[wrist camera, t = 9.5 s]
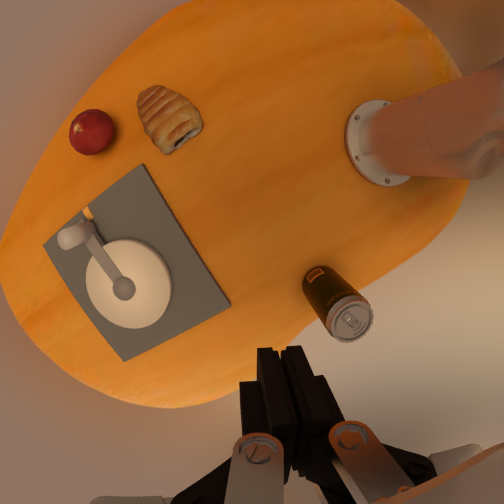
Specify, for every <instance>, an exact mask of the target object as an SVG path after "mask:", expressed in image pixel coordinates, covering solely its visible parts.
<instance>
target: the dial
mask: <svg viewBox="0 0 504 504" xmlns="http://www.w3.org/2000/svg"><path fill="white" fill-rule="evenodd" d="M57 241H58V244H59V246H60V247H61V248H62V249H63V250H69V249H71V248H73V247H75V246H77V245H79V244H81V243H83V242H84V243H85V245H86V246H87V248H88V249H89V250H90V252H91V253H92V255H93V256H92V258H91V259H90V261H89V263H88V266H87V270H86V287H87V291H88V294H89V297H90V299H91V301H92V303H93V305H94V306H95V308H96V309H97V310H98V311H99V312H100V314H101V315H103V316H104V317H105V318H106V319H107V320H109V321H110V322H112V323H114V324H116V325H118V326H121V327H125V328H133V329H136V328H143V327H146V326H149V325H151V324H153V323H154V322H156V321H157V320H158V319H159V318H160V317H161V316H162V315H163V313H164V312H165V309H166V307H167V305H168V303H169V301H170V298H171V294H172V279H171V274H170V271H169V268H168V266H167V264H166V262H165V261H164V259H163V258H162V257H161V256H160V254H159V253H158V252H157V251H156V250H155V249H153V248H152V247H151V246H149V245H148V244H146V243H144V242H141V241H139V240H135V239H128V238H125V239H117V240H114V241H112V242H110V243H108V244H106V245H105V244H104V242H103V241H102V240H101V238H100V237H99V235H98V234H97V232H96V229H95V226H94V224H93V223H92V222H90V221H89V220H88V219H87V217H85V218H82V219H81V220H80V221H79V222H78V223H77V224H76V225H74V226H71V227H68V228H65V229H62V230H61V231H60V232H59V233H58V236H57Z"/></svg>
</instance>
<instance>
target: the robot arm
mask: <svg viewBox="0 0 504 504" xmlns="http://www.w3.org/2000/svg"><path fill="white" fill-rule="evenodd" d="M355 118H356V120H355ZM345 142H346V148H347V152H348V155H349V157H350V159H351V162H352V163H353V165H354V166H355V168H356V169H357V171H358V172H359V173H360V174H361V175H362V176H363V177H365V178H366V179H367V180H368V181H370V182H372V183H374V184H377V185H381V186H388V187H390V186H397V185H400V184H403V183H404V182H406V181H408V180H409V179H410V178H411V177H412V176H420V177H440V178H455V179H471V180H472V179H481V178H484V177H486V176H488V175H490V174H491V173H492V172H494V171H495V170H496V169H497V167H498V166H499V165H500V163H501V162H502V161H503V159H504V58H502V59H500V60H498V61H497V62H495V63H493V64H491V65H489V66H488V67H485V68H483V69H481V70H479V71H477V72H475V73H473V74H471V75H468V76H465V77H463V78H460V79H457V80H454V81H452V82H449V83H446V84H443V85H440V86H437V87H434V88H431V89H429V90H426V91H423V92H420V93H418V94H415V95H412V96H410V97H407V98H404V99H402V100H399V101H397V102H394V103H391V102H389V101H385V100H371V101H367V102H365V103H363V104H361V105H360V106H358V107H357V108H356V109H355V110H354V111H353V112H352V114H351V115H350V117H349V119H348V121H347V125H346V129H345ZM355 156H356V157H357V159H355ZM385 180H386V181H385ZM239 385H240V409H241V423H242V437H241V438H239V440H238V441H237V442H236V443H235V445H234V448H233V453H232V457H231V458H229V459H228V460H226V461H225V462H224V463H222V464H221V465H220V466H218V467H217V468H216V469H215V470H213V471H212V472H210V473H209V474H207V475H206V476H204V477H203V478H202V479H200V480H199V481H197V482H196V483H194V484H193V485H191V486H190V487H188V488H187V489H185V490H184V491H182V492H180V493H179V494H178V495H176V496H175V497H167V498H163V497H162V496H144V497H118V496H116V497H115V496H101V497H97V498H95V499H93V500H92V501H91V503H90V504H284V502H283V501H284V485H285V484H286V483H287V482H288V477H289V473H290V468H291V466H292V469H293V471H295V470H298V473H299V477H304V476H305V477H306V479H307V480H309V481H311V482H313V486H314V489H315V491H316V493H317V495H318V497H319V499H320V501H321V503H322V504H504V443H501V444H498V445H495V446H493V447H491V448H489V449H486V450H484V449H483V448H482V447H481V446H479V445H477V444H468V445H465V446H461V447H458V448H454V449H450V450H447V451H443V452H438V453H434V454H430V456H429V457H425V456H422V455H419V454H416V453H412V452H408V451H405V450H402V449H398V448H395V447H392V446H389V445H385V444H383V443H381V442H380V441H379V439H378V438H377V437H376V436H375V434H374V433H373V432H372V430H371V429H370V428H369V427H368V426H367V425H365V424H363V423H361V422H358V421H345V419H344V417H343V415H342V413H341V411H340V408H339V406H338V404H337V402H336V400H335V398H334V396H333V393H332V391H331V389H330V387H329V385H328V383H327V381H326V379H325V377H324V376H323V375H319V376H314V374H313V372H312V369H311V367H310V365H309V362H308V360H307V358H306V356H305V353H304V351H303V349H302V347H301V346H299V345H298V346H287V347H286V350H282V351H281V358H280V357H279V354H278V351H273V349H272V347H269V348H257V381H246V382H239Z"/></svg>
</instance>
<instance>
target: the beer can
mask: <svg viewBox="0 0 504 504" xmlns="http://www.w3.org/2000/svg"><path fill="white" fill-rule="evenodd" d="M303 292H304V295H305V296H306V298H307V300H308V301H309V303H310V304H311V306H312V307H313V309H314V310H315V312H316V314H317V315H318V317H319V318H320V320H321V321H322V323H323V325H324V326H325V328H326V329H327V331H328V332H329V333H330V335H331V336H333V337H334V338H336V339H337V340H338V341H340V342H346V343H348V342H354V341H356V340H358V339H360V338H362V337H363V336H364V335H365V334H366V333H367V332H368V331H369V329H370V327H371V325H372V323H373V317H374V316H373V311H372V309H371V307H370V304H369V303H368V301H367V300H366V299H365V298H364V297H363V296H362V295H361V294H359V293H358V292H357V291H356V290H355V289H354V288H353V287H352V286H351V285H350V284H349V283H348V282H346V281H345V280H344V279H343V278H342V277H341V276H340V275H339V274H338V273H336V272H335V271H334V270H333V269H331V268H329V267H318V268H315V269H313V270H311V271H310V272H309V273H308V274H307V276H306V277H305V279H304V282H303Z"/></svg>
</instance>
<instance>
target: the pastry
mask: <svg viewBox="0 0 504 504" xmlns="http://www.w3.org/2000/svg"><path fill="white" fill-rule="evenodd" d="M137 107H138V114H139V117H140V119H141V122H142V123H143V126H144V131H145V133H146V134H148V135H149V136H150V137H151V139H152V142H153V143H154V144H155V145H156V146H158V147H159V148H160V149H161V152H162V153H163V154H169V153H171V152H172V151H173V150H176V149H178V148H179V147H181V146H182V145H183V143H185V142H186V141H187V139H188V138H192V137H194V136H195V135H196V134H198V133H199V132H200V130H201V128H202V125H203V123H202V120H201V118H200V115H199V111H198V110H197V108H196V107H194V106H193V105H192V104H191V103H190V102H189V101H188V100H187V98H186V97H183V96H182V95H181V94H179V93H176V92H175V91H173V90H170V89H167V88H165V87H164V86H161V85H156V86H152V87H150V88H148V89H146V90H145V91H142V92H141V93H140V94H139V96H138V101H137Z"/></svg>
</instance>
